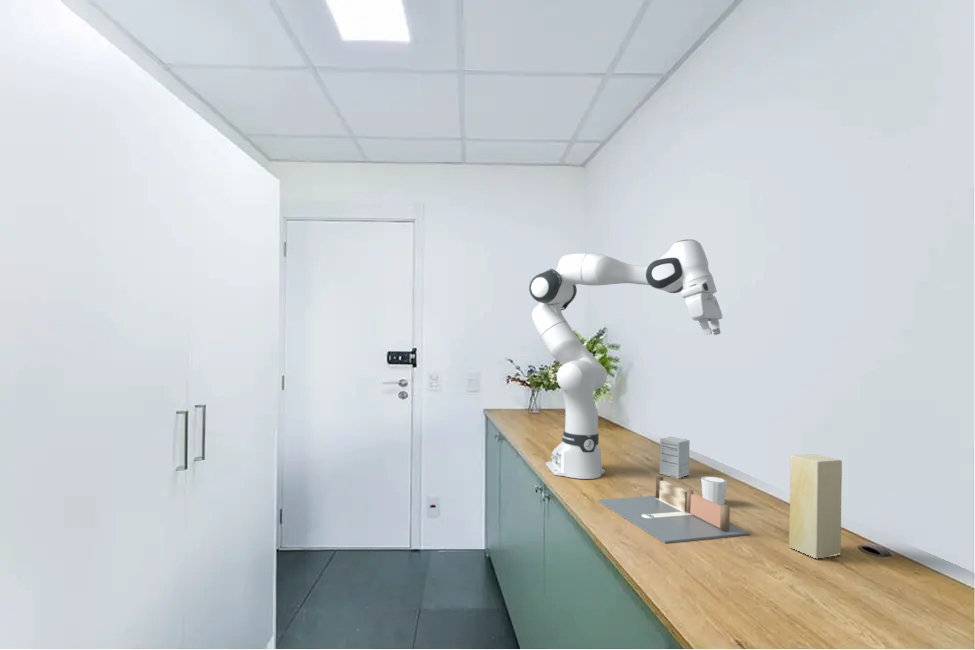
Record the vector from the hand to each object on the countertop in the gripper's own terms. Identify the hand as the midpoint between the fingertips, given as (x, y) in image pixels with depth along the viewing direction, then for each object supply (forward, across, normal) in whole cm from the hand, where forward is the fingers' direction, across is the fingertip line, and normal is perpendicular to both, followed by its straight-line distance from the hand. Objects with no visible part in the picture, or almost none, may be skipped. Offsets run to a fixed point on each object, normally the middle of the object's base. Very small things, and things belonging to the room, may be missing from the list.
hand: (713, 334), depth 149 cm
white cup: (+47, +4, -12) cm, 49 cm away
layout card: (+45, +25, -18) cm, 54 cm away
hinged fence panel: (+47, +23, -9) cm, 53 cm away
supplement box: (+43, -20, -31) cm, 56 cm away
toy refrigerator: (+54, +24, +13) cm, 61 cm away
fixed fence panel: (+44, +15, -20) cm, 51 cm away
